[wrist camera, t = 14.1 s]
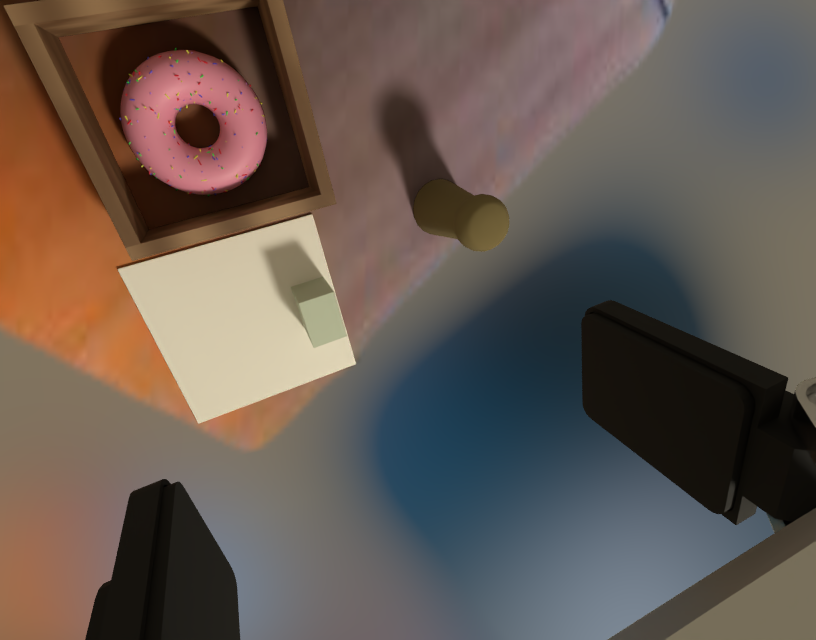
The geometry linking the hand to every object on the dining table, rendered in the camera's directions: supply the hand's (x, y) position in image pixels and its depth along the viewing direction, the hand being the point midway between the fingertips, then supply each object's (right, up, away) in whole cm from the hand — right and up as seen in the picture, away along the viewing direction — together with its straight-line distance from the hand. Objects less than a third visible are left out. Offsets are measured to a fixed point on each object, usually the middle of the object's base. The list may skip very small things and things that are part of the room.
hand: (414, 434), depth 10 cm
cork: (+3, +15, +40) cm, 43 cm away
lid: (-16, +2, +37) cm, 41 cm away
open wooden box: (-18, +19, +29) cm, 39 cm away
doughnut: (-18, +19, +29) cm, 39 cm away
